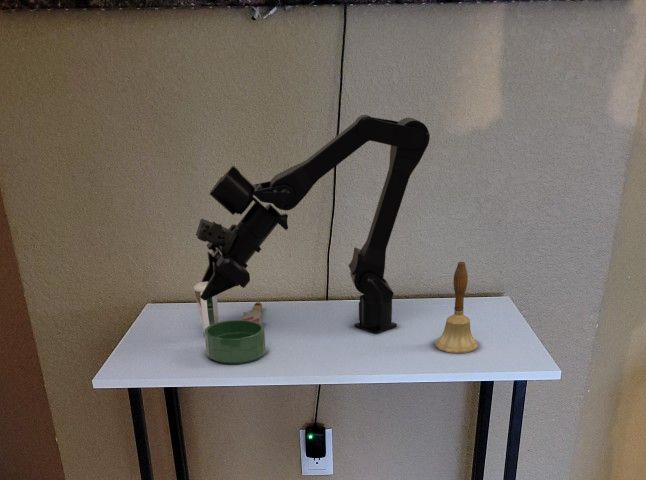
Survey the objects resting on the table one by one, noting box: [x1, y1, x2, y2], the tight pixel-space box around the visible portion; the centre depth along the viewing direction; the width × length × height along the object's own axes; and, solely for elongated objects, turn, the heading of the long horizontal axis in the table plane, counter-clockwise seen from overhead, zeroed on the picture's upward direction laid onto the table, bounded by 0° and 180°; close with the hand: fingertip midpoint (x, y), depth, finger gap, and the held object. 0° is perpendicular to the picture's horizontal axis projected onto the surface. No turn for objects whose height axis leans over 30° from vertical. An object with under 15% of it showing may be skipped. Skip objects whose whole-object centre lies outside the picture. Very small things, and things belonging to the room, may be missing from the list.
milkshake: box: [193, 281, 219, 331], centre depth 148 cm, size 5×5×10 cm
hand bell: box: [434, 261, 479, 354], centre depth 141 cm, size 8×8×16 cm
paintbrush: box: [241, 301, 264, 326], centre depth 158 cm, size 4×3×20 cm
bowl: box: [204, 319, 267, 365], centre depth 143 cm, size 11×11×5 cm
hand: (200, 295), depth 147 cm, fingers closed on milkshake, 4 cm apart
